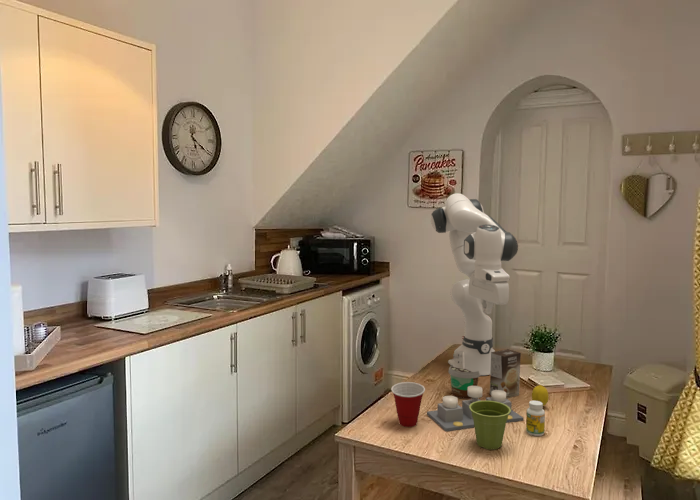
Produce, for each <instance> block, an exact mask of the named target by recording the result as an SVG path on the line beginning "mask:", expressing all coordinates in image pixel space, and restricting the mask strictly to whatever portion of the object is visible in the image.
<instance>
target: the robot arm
mask: <svg viewBox="0 0 700 500" xmlns="http://www.w3.org/2000/svg"><path fill="white" fill-rule="evenodd" d="M444 205H445V206H442V207H438V208H435V209H434V210H433V211H432V213H431V215H430V222H431V225H432V227H433V229H434V230H435V232H437V233H439V234H444V233H445V234H446V232H449V234H448V237H449V243H450V244H449V245H450V247H451V252H452V254H453V255H452V256H453V258H454V261H455V264H456V268H457V269H458V271H459V272H461V273H462V274H464V275H465V276H467V277H468V278H467V279H466V278H465V279H461V280H458V281H456V282H454V283H453V284H452V285H451V288H450V297H451V300H452V301H453V303H454V304H455V305H457V306H458V307H459V309H460V310H461V313H462V315H463V319H464V335H462V336H461V338H462V343H461V344H460V345H459V346H458V347H457V348H456V349H454V351H453V352H454V353H452V354H453V355H452V356H453V357H452V358H451V359H449V360H448V361H447V363H448V364H449V365H450V366H451V365H452V364H453V367H456V368H460V369H467V370H469V371H471V372H477V371H479V374H480V376H488V375H489V376H490V370H491V352H496V350H495V349H494V338H493V320H492V318H491V317H490V316H489V315H492V313H493V311H492V309H493V308H494V305H496V306H497V305H498V306H503V305H505V306H507V304H508V302H509V301H510V300H509V299H510V284H509V282H510V278H511V277H510V276H511V275H510V274H508V273H507V272H506V271H505V270H504V268H503V267H502V261H503V262H509V261H511V260H512V259H513V258H514V257H515V256H516V255H517V253H518V251H519V250H518V249H519V245H518V244H519V243H518V240H517V238H516V237H515V236H514V235H513V234H512V233H511V232H509V231H506V229H504V228H503V227H502V226H501V225H500V224H499V223H498V222H497V221H496V220H495V219H494V218H493V217H492V216H490V215H488V213H487V214H486V213H485V211H484V207H483V205H482V203H481V202H480V201H479V199H477V198H472V199H469V198H468V197H467V196H466V195H465V194H463V193H452V194H450V195H449V196H448V197H447V199H446V201H445V204H444Z"/></svg>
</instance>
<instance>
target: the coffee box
mask: <svg viewBox="0 0 700 500" xmlns="http://www.w3.org/2000/svg"><path fill="white" fill-rule="evenodd" d="M521 356H522V352H519V351H516V350H513V349H510V348H509V349H508V348H507V349H502V350H497V351H496V350H495V352H491V370H490V375H489V376H490V379H489V395H490V396H491V392H492V391H493V390H502V391H505V392H506V399H510V398H512V397H513V398H514V397H516V396H519V395H520V379H521V378H520V377H521V376H520V375H521Z"/></svg>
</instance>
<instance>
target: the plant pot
mask: <svg viewBox="0 0 700 500" xmlns="http://www.w3.org/2000/svg"><path fill="white" fill-rule="evenodd" d="M469 408H470V410H471V412H472V417H473V421H474V428H473V429H474V434H475V441H476V444H477V446H478V447H480V448H483V449H485V450H498V449H499V448H501V447H502V446H503V440H504V435H505V430H506V425H507V423H506V421H507V419H508V415H509V414H510V412H511V410H512V408H511V409H510V407H508V406H507V405H505V404H503V403H500V402H496V401H486V400H481V401H476V402H473V403H471V404H470V406H469Z"/></svg>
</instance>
